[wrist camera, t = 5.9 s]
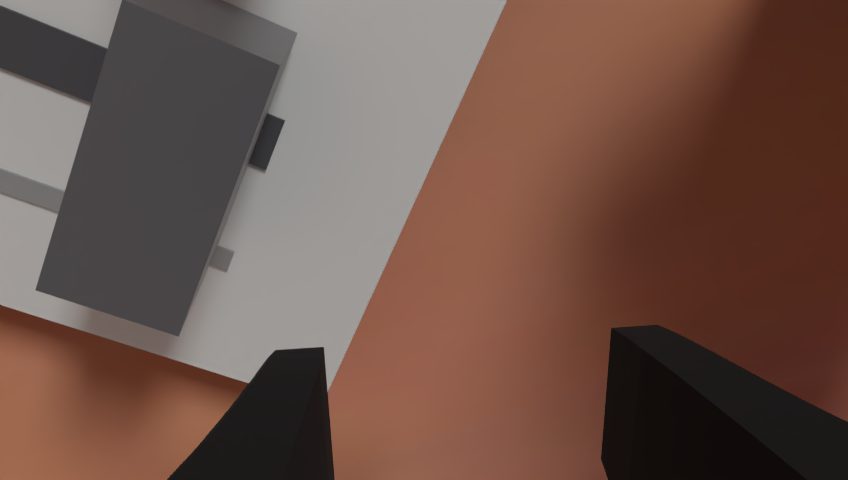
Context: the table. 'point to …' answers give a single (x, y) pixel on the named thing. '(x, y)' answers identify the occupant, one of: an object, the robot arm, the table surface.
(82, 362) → the table surface
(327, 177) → the mixer plate
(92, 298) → the fader
